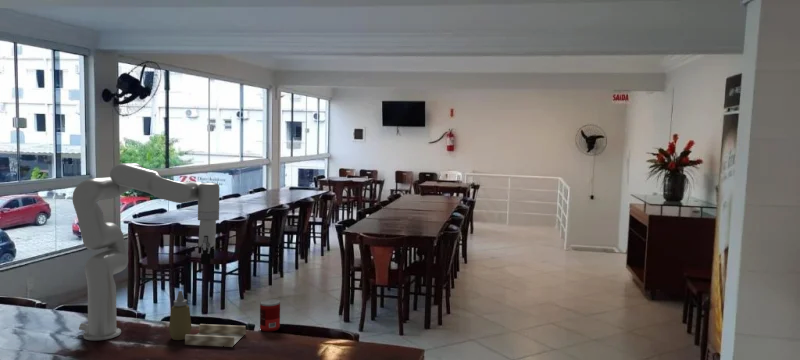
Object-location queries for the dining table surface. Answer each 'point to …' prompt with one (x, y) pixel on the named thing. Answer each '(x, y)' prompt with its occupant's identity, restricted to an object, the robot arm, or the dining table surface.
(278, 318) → the canned food
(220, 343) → the cradle
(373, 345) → the dining table surface
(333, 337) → the dining table surface
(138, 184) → the robot arm
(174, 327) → the squeeze bottle
